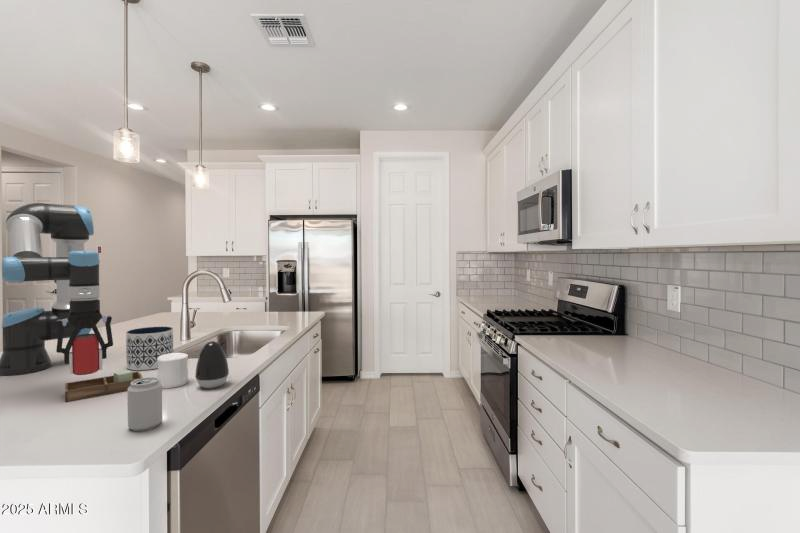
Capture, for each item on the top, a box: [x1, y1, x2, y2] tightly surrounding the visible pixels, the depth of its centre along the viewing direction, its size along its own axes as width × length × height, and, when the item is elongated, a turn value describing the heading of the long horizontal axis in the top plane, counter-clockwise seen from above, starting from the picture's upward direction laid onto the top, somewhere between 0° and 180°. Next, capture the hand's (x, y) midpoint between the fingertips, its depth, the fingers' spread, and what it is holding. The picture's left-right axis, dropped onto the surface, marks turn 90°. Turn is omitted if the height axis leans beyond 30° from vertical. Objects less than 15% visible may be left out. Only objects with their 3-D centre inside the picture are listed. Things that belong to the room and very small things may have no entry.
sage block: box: [113, 369, 133, 383], centre depth 129 cm, size 4×4×4 cm
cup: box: [156, 352, 189, 389], centre depth 132 cm, size 10×10×10 cm
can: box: [126, 376, 163, 432], centre depth 99 cm, size 8×8×12 cm
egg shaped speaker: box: [194, 340, 230, 389], centre depth 130 cm, size 10×10×15 cm
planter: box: [125, 326, 174, 372], centre depth 155 cm, size 16×16×14 cm
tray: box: [64, 371, 144, 403], centre depth 126 cm, size 10×20×3 cm, turn 131°
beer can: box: [71, 333, 100, 376], centre depth 122 cm, size 7×7×12 cm
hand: (86, 371), depth 123 cm, fingers closed on beer can, 7 cm apart
